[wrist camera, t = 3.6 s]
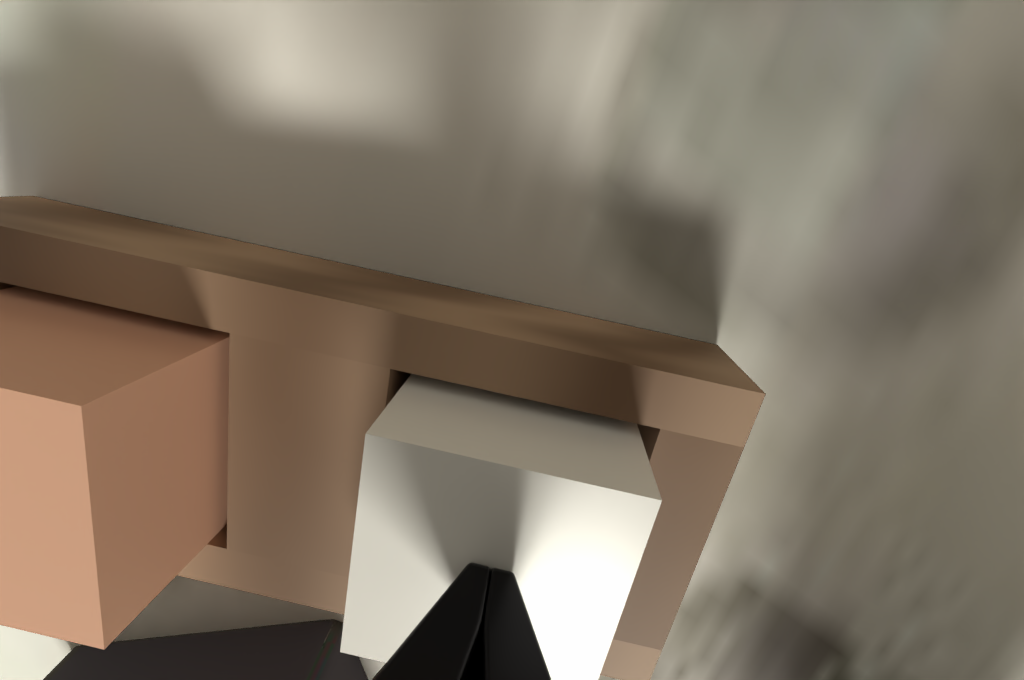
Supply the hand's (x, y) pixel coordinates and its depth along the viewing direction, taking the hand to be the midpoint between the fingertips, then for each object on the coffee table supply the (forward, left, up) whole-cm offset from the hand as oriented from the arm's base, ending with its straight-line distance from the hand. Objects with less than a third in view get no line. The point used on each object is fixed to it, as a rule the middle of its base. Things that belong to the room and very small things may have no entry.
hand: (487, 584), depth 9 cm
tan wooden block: (+9, 0, -3) cm, 9 cm away
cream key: (0, 0, -4) cm, 4 cm away
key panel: (+5, 0, -5) cm, 7 cm away
